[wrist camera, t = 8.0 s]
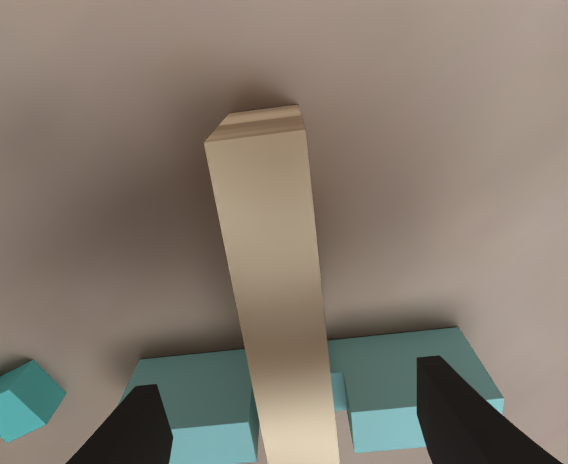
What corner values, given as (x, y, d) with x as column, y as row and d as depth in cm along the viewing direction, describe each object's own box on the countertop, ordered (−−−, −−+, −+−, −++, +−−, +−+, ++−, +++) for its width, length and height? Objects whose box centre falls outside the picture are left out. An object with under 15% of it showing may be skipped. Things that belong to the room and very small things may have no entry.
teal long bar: (456, 363, 19) (499, 440, 15) (150, 393, 19) (119, 473, 16) (458, 327, 18) (503, 398, 14) (139, 359, 19) (103, 435, 15)
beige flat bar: (330, 409, 20) (345, 517, 15) (280, 414, 20) (279, 523, 15) (298, 104, 14) (305, 129, 10) (229, 113, 14) (203, 142, 10)
